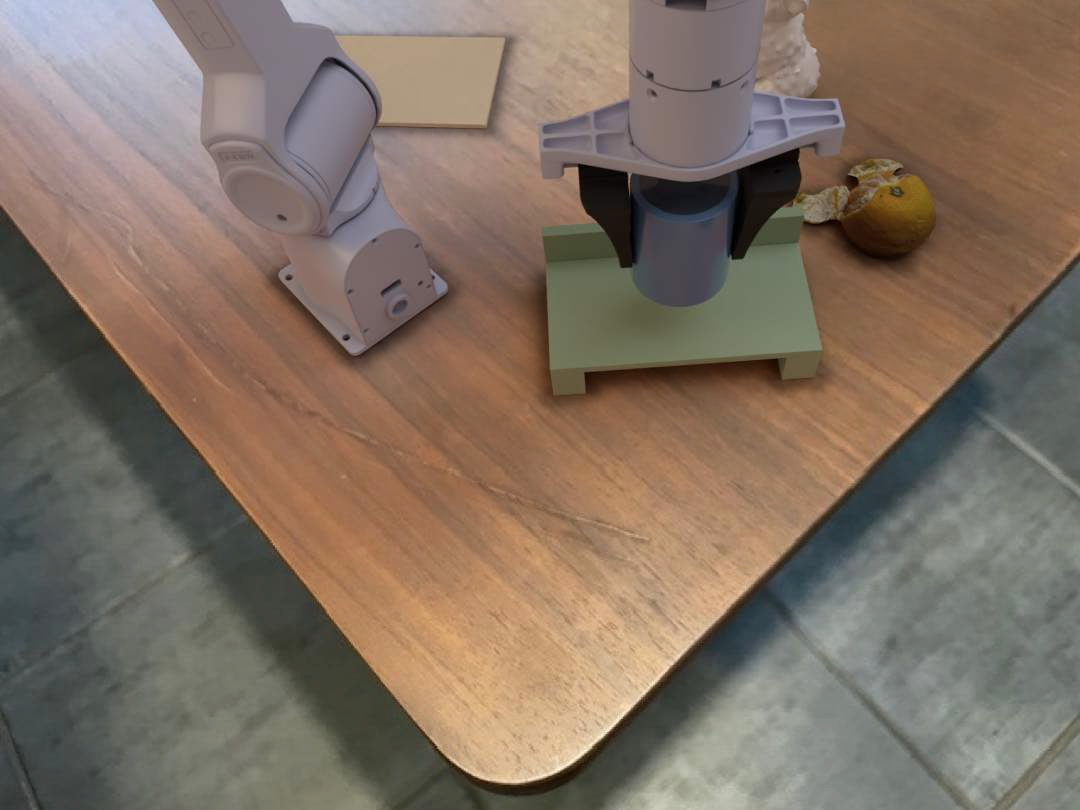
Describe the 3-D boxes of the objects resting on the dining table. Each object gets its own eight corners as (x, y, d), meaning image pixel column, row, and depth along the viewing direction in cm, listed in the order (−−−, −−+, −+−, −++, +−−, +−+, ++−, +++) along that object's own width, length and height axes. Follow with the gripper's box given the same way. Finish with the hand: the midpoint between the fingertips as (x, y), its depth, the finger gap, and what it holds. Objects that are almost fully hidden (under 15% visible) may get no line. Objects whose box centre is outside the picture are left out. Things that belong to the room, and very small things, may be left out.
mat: (505, 41, 78) (505, 37, 77) (486, 128, 73) (485, 124, 72) (293, 38, 80) (292, 34, 80) (260, 123, 75) (258, 119, 75)
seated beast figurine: (698, 53, 75) (709, -95, 65) (812, 52, 74) (841, -99, 64) (697, 139, 70) (708, -6, 60) (819, 140, 69) (850, -8, 59)
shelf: (814, 377, 59) (830, 324, 54) (553, 396, 60) (546, 345, 55) (790, 263, 63) (802, 205, 59) (548, 282, 64) (541, 226, 60)
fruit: (876, 155, 68) (887, 114, 65) (963, 227, 64) (980, 188, 61) (783, 207, 66) (790, 169, 63) (866, 285, 62) (878, 248, 59)
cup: (748, 269, 55) (763, 180, 49) (678, 324, 53) (684, 239, 47) (678, 216, 57) (684, 126, 51) (610, 268, 56) (607, 181, 50)
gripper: (842, -24, 44) (799, 187, 56) (528, 5, 45) (549, 207, 56) (875, 80, 40) (821, 283, 52) (532, 109, 41) (554, 302, 53)
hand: (680, 250), depth 54 cm, fingers closed on cup, 5 cm apart
